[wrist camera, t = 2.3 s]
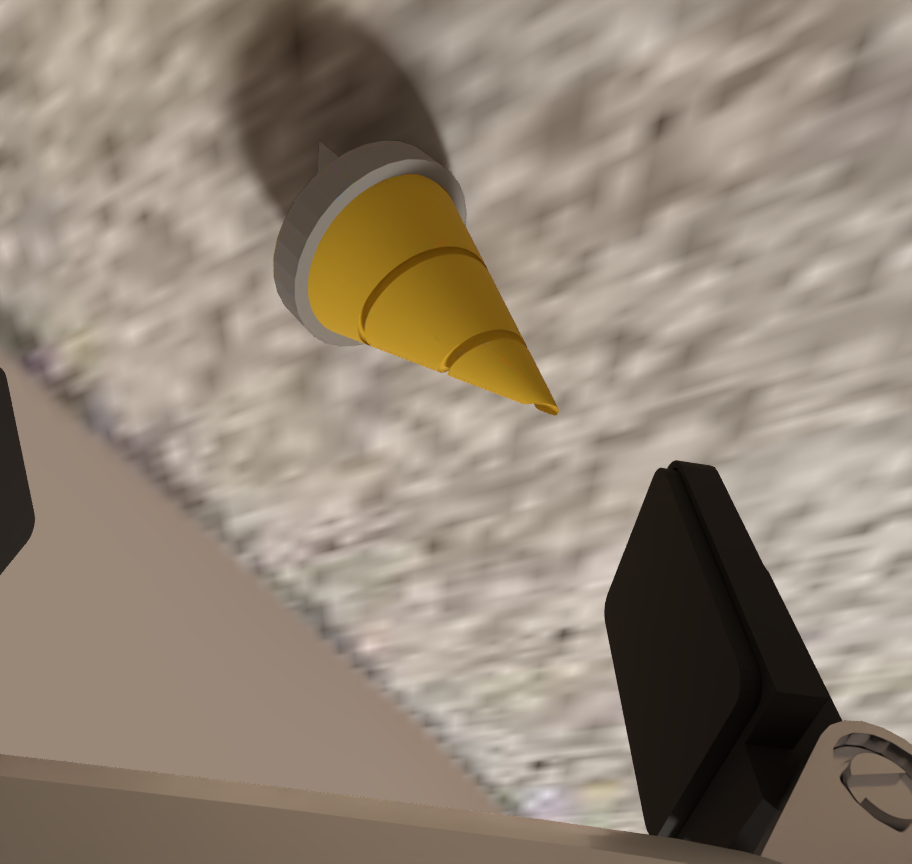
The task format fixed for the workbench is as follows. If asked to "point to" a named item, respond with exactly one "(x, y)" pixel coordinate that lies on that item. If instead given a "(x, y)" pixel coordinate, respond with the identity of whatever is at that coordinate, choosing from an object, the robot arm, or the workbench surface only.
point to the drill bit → (400, 270)
